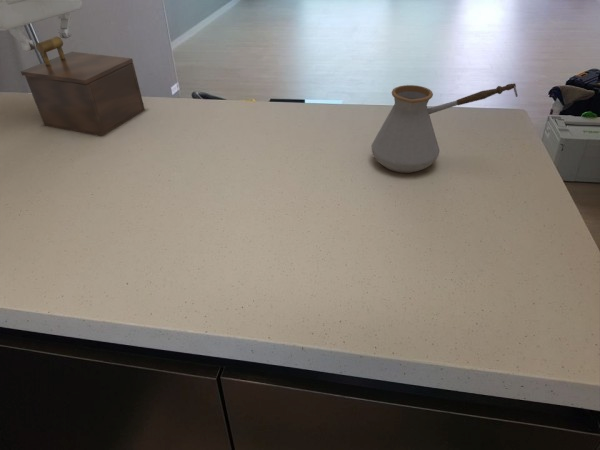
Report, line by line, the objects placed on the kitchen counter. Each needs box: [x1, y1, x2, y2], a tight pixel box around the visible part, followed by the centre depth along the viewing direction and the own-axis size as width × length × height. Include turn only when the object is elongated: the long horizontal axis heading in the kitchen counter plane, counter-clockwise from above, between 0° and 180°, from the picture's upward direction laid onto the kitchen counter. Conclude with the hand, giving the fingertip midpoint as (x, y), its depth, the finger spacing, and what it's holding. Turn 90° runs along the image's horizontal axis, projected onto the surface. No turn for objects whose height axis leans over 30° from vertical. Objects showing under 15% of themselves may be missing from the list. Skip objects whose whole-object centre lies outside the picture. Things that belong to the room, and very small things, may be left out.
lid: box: [20, 36, 134, 84], centre depth 91 cm, size 16×14×5 cm
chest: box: [24, 62, 146, 137], centre depth 95 cm, size 16×14×11 cm
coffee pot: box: [371, 82, 518, 174], centre depth 75 cm, size 21×12×15 cm, turn 78°
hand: (48, 43), depth 91 cm, fingers open, 8 cm apart
